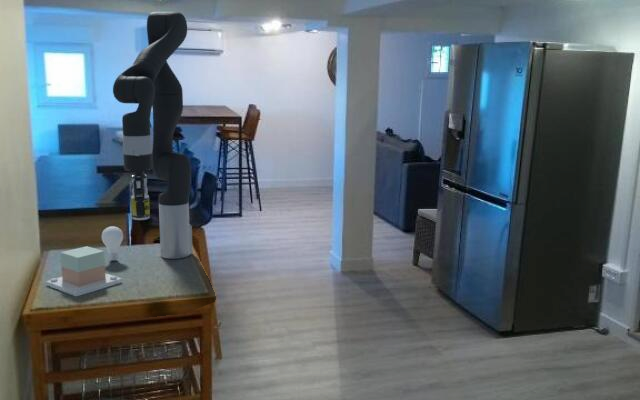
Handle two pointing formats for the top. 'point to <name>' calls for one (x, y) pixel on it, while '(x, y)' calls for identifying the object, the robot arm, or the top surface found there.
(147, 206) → the supplement bottle
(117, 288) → the top surface
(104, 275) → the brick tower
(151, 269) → the top surface
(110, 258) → the lightbulb
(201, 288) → the top surface
